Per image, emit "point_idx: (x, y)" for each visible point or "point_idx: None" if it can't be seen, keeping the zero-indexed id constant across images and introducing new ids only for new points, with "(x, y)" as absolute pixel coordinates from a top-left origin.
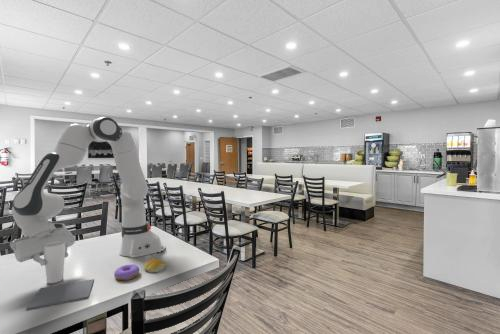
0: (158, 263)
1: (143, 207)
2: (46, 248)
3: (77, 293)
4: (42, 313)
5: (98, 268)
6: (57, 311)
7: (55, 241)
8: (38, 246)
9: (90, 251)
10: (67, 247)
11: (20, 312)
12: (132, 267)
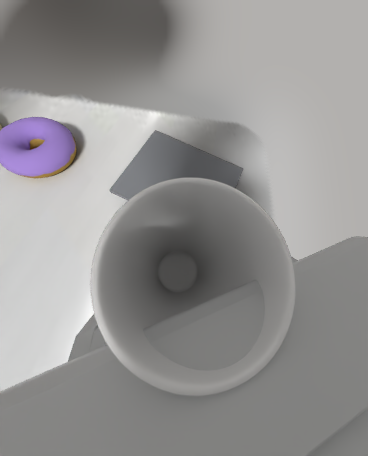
0: None
1: None
2: (262, 224)
3: (164, 153)
4: (222, 143)
5: (52, 267)
6: (204, 132)
7: (155, 433)
8: (343, 321)
9: None
10: (78, 333)
11: (249, 171)
12: (15, 132)
